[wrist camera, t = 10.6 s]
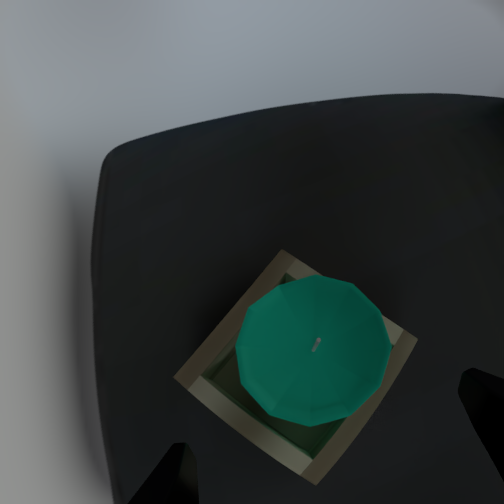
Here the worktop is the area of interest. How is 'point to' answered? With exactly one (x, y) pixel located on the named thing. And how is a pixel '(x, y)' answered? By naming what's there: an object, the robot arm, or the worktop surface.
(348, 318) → the candle
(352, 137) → the worktop surface
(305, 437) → the candle holder
